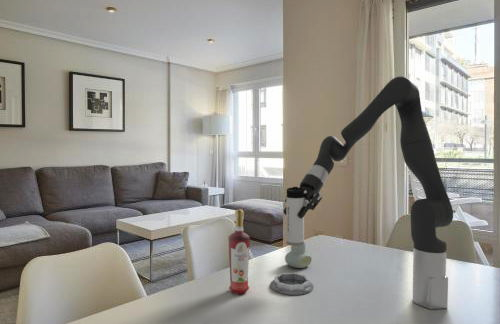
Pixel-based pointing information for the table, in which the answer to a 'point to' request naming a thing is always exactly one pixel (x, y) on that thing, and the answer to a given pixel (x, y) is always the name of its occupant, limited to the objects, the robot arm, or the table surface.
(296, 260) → the air freshener
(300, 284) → the collar
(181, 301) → the table surface
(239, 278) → the liquor
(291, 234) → the travel mug
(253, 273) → the table surface
